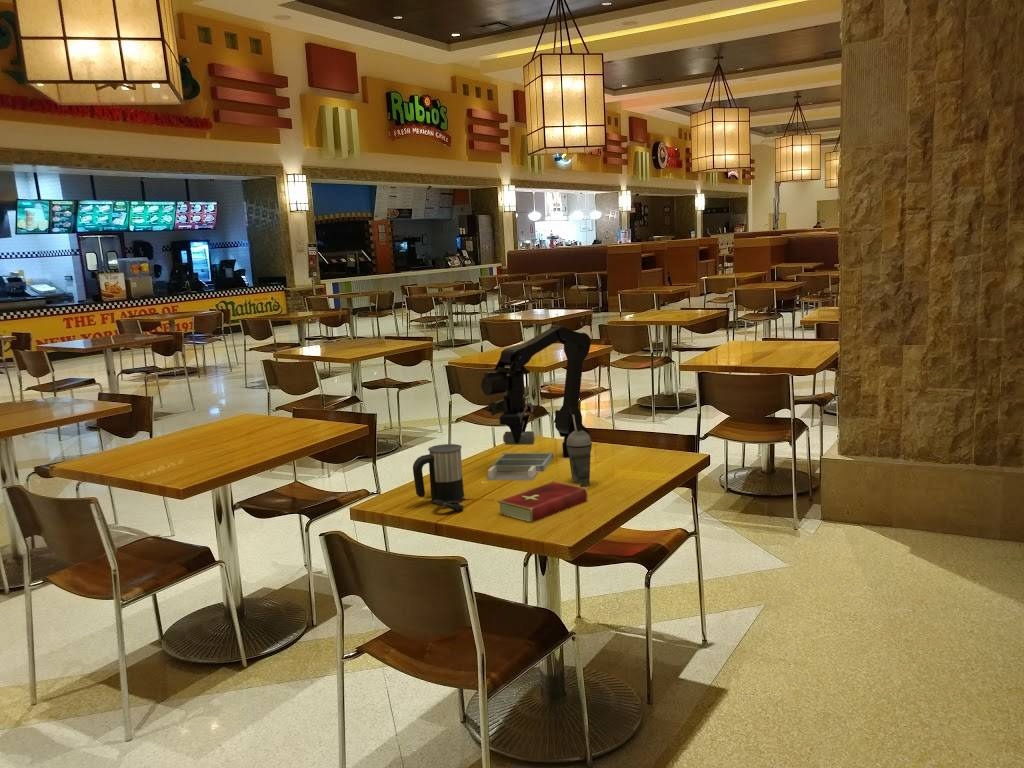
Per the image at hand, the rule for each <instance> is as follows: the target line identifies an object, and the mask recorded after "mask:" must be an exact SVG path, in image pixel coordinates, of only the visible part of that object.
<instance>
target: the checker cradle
mask: <svg viewBox="0 0 1024 768" xmlns="http://www.w3.org/2000/svg"><path fill="white" fill-rule="evenodd" d="M538 474H539V472H537V471H536V466H531V468H530V469H529V470H528V471H527V472H506V471H497V470H496V466H492V467H491V466H490V468H488V469H487V476H488V477H487V478H486V479H485V480H486V481H534V479H535V478H536V477H537V476H538Z"/></svg>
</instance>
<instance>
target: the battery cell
mask: <svg viewBox="0 0 1024 768" xmlns="http://www.w3.org/2000/svg"><path fill="white" fill-rule="evenodd" d="M502 441H503V443H504V444H505V446H510V445H512V446H519V445H520V446H522V445H524V446H526V445H527V446H528V445H531V446H532V445H534V444H535V432H534V431H533V430H531V431H530V430H529V431H527V430H525V431H522V433H521V437H520V441H519V443H515V441H514V438H513V435H512V433H511V431H505V432H504V434H502Z"/></svg>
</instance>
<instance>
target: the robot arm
mask: <svg viewBox="0 0 1024 768" xmlns="http://www.w3.org/2000/svg"><path fill="white" fill-rule="evenodd" d="M556 342H558V343H560V344H562V345H563V352H564V355H565V356H566V361H567V363H566V372H565V382H564V390H563V399H562V400H563V401H562V406H561V407H560V409H559V410H558V409H556V410H555V412H554V421H553V423H554V424H555V425H554V427H555V429H556V430H557V432H558V434H559V436H560V437H561V438H563V442H562V445H561V446H562V456H563V458H564V459H566V458H567V459H569V453H568V450H567V446H566V444H567V438H568V436H569V435H570V433H572V432H573V431H575V428H574V422H573V416H572V415H574V417H575V423H576V428H577V430H583V431H585V432H586V433H587V434H588V435H589V436H590V430H588V428H586V426H584V424H583V415H582V413H581V409H580V407H579V404H580V397H581V396H580V394H581V384H582V376H583V366H584V361H585V359H586V358H587V356H588V355H589V352H590V348H591V345H592V339H591V337H590V336H589V334H588V333H586V332H578V331H575V330H573V329H570V328H567V327H565V326H563V325H552V326H550V327H549V328H548V329H546V330H545V331H543V332H541V333H540V334H537V335H536V336H534V337H532V338H531V339H529V340H526V341H525V342H524V343H521V344H516V345H512V346H508V347H506V348H504V349H503V350H502V351H501V352H500V357H499V359H498V361H497V363H496V364H495V367H494V369H493V371H485V372H484V376H483V378H482V379H481V383H480V387H481V390H482V393H483V394H484V395H485V396H487V397H488V396H494V395H498V394H503V393H505V394H504V395H503V397H502V398H501V399H500V400H497V401H496V400H493V401H491V402H489V403H488V405H487V412H488V413H490V415H491V416H492V417H493V416H496V414H499V413H502V412H503V413H502V414H501V416H500V417H499V425H505V426H507V427H508V428H509V430H510V432H511V433H512V435H513V438H514V441H515V443H519V441H520V437H521V433H522V431H527V426H528V424H529V421H530V418H531V417H532V415H531V414H532V413H533V412H534V404H532V403H531V402H527V401H526V397H527V396H528V394H527V391H525V390H526V386H525V376H524V375H529V374H530V373H531V371H529V370H528V369H527V368H526V367H525V366H526V365H528V363H529V362H530V361H531V359H532V358H533V356H535V355H537V354H539V353H540V352H541V351H543V350H545V349H547V348H549V346H551V345H553V344H555V343H556ZM528 412H529V414H527V413H528Z"/></svg>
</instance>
